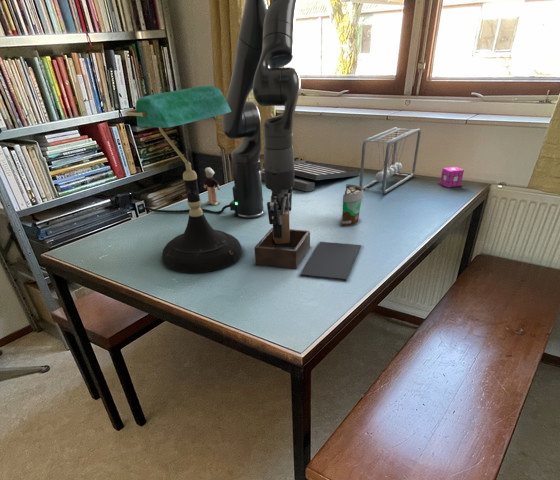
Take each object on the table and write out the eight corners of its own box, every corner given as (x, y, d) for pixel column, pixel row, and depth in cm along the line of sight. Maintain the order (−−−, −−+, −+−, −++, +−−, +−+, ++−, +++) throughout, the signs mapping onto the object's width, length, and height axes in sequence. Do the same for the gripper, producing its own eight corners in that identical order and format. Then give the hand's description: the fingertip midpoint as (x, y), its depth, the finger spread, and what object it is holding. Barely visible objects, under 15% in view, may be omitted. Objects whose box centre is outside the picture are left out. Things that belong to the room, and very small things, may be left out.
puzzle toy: (447, 187, 162) (450, 171, 158) (439, 183, 166) (442, 168, 162) (460, 185, 163) (464, 170, 159) (452, 182, 167) (455, 166, 163)
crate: (255, 264, 115) (254, 247, 112) (272, 244, 126) (271, 227, 123) (296, 268, 112) (295, 251, 109) (310, 247, 123) (310, 230, 120)
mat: (300, 275, 109) (300, 274, 109) (320, 243, 125) (320, 241, 125) (346, 280, 106) (346, 279, 105) (360, 246, 122) (360, 245, 122)
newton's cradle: (391, 173, 181) (396, 125, 170) (414, 176, 176) (421, 127, 165) (358, 191, 162) (362, 140, 151) (383, 195, 157) (389, 142, 146)
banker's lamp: (203, 283, 108) (172, 98, 83) (141, 265, 118) (95, 96, 93) (261, 246, 125) (249, 84, 100) (202, 233, 135) (178, 83, 110)
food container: (360, 228, 133) (363, 195, 126) (341, 227, 134) (343, 195, 128) (362, 215, 142) (365, 183, 136) (344, 214, 143) (346, 183, 137)
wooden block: (272, 239, 118) (271, 210, 113) (286, 237, 118) (286, 208, 113) (275, 244, 115) (274, 215, 110) (290, 243, 115) (289, 213, 110)
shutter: (304, 176, 201) (254, 181, 183) (305, 160, 198) (254, 163, 179) (357, 185, 182) (307, 191, 163) (359, 167, 178) (308, 171, 160)
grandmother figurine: (202, 204, 158) (196, 168, 150) (207, 201, 160) (202, 165, 152) (220, 206, 155) (215, 169, 147) (225, 203, 158) (220, 166, 150)
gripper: (274, 158, 110) (276, 223, 121) (254, 173, 100) (259, 242, 111) (301, 160, 108) (301, 225, 119) (284, 175, 98) (286, 245, 109)
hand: (281, 233), depth 115 cm, fingers closed on wooden block, 5 cm apart
